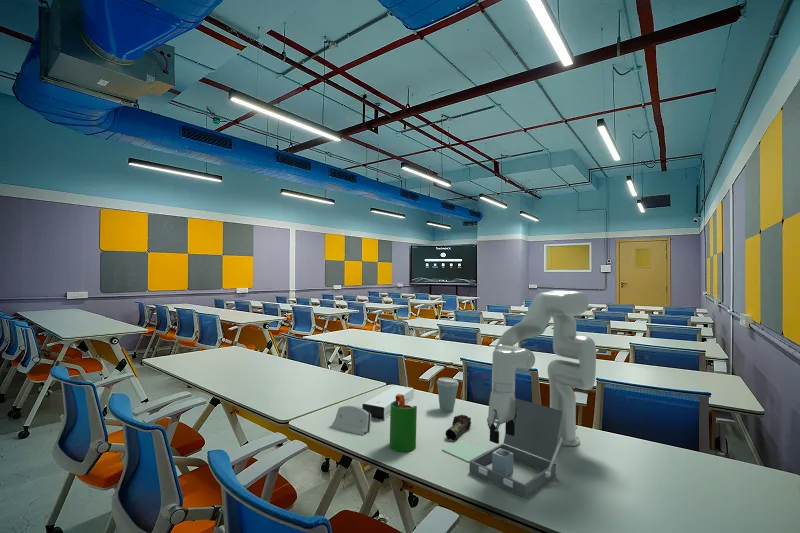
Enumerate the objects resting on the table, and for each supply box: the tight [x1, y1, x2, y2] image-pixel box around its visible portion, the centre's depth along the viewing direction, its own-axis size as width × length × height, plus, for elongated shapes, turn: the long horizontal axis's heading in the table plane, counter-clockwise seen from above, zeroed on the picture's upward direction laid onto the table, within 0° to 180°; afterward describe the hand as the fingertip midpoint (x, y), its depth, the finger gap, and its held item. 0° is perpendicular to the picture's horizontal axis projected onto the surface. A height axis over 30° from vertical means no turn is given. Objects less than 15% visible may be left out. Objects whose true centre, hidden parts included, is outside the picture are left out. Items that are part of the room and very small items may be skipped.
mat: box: [441, 440, 488, 464], centre depth 138 cm, size 12×12×1 cm
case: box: [469, 438, 563, 499], centre depth 124 cm, size 24×21×12 cm
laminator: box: [361, 384, 415, 421], centre depth 184 cm, size 34×12×6 cm, turn 155°
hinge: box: [331, 405, 372, 436], centre depth 157 cm, size 17×5×10 cm, turn 62°
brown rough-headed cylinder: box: [444, 414, 472, 442], centre depth 155 cm, size 18×7×6 cm, turn 147°
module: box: [491, 448, 514, 477], centre depth 124 cm, size 5×5×6 cm
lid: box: [503, 397, 563, 464], centre depth 132 cm, size 17×19×1 cm
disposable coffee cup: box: [436, 377, 459, 413], centre depth 181 cm, size 11×11×15 cm
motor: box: [389, 394, 418, 453], centre depth 141 cm, size 10×9×20 cm
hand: (502, 438), depth 124 cm, fingers open, 9 cm apart
